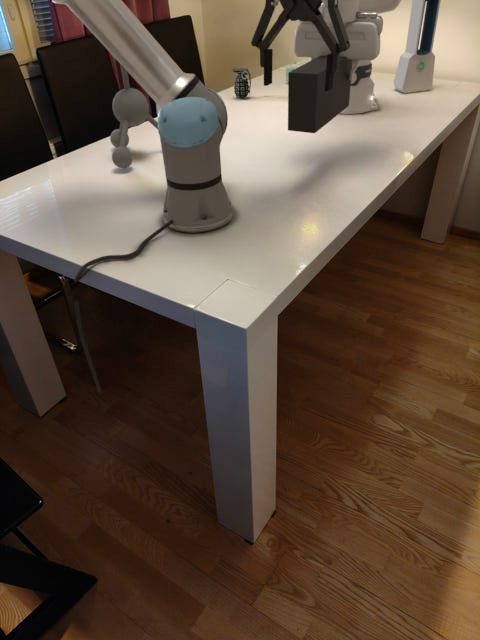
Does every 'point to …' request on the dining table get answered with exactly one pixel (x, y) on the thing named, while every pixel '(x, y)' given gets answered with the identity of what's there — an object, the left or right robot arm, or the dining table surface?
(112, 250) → the dining table surface
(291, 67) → the decorative block
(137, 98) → the molecular model
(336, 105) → the box
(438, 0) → the electronic device
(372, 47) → the right robot arm
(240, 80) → the grenade
